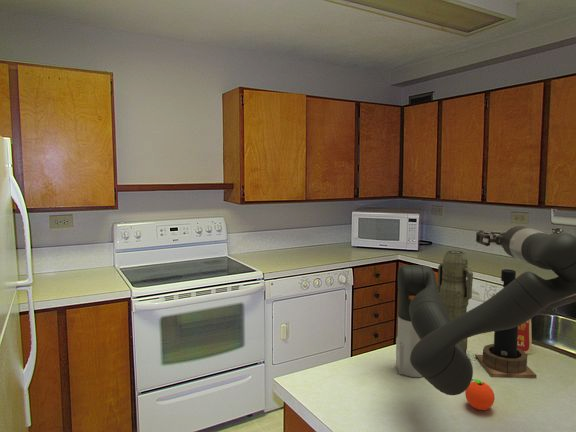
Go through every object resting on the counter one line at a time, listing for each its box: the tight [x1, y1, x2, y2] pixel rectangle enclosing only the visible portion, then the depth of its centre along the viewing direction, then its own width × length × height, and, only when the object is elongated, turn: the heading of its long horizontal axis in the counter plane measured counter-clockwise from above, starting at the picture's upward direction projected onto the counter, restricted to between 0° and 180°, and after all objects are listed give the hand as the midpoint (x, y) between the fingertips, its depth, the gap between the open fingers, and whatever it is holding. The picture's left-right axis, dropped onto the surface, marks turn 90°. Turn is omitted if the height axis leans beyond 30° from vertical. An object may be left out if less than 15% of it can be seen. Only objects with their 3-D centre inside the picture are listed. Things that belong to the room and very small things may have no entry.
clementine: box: [464, 378, 496, 411], centre depth 107 cm, size 8×7×7 cm
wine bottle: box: [493, 268, 518, 359], centre depth 127 cm, size 6×6×30 cm
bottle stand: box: [474, 343, 538, 379], centre depth 129 cm, size 13×13×5 cm
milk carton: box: [517, 318, 532, 355], centre depth 142 cm, size 9×9×20 cm
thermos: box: [437, 250, 474, 354], centre depth 137 cm, size 9×12×35 cm
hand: (497, 234), depth 107 cm, fingers open, 8 cm apart
